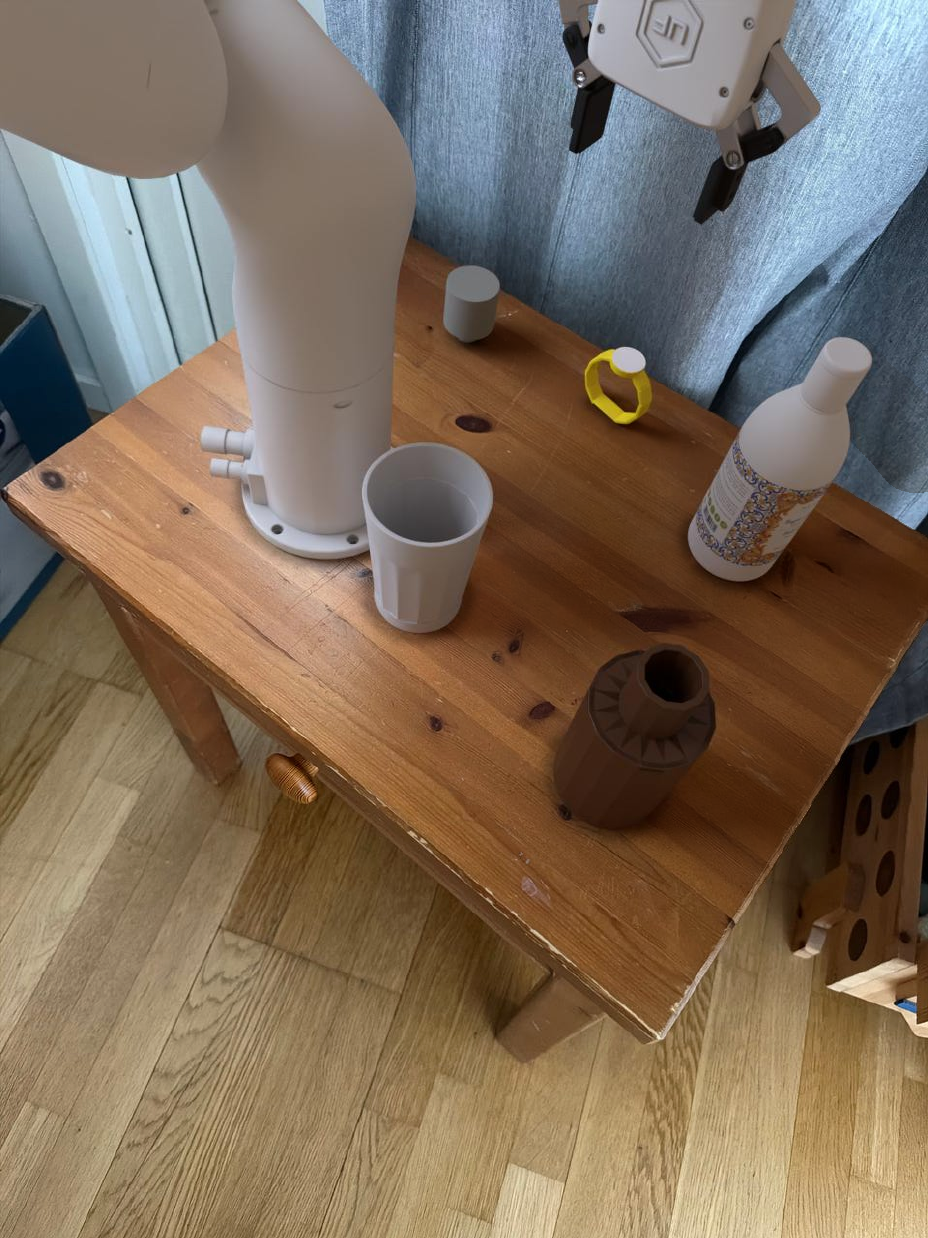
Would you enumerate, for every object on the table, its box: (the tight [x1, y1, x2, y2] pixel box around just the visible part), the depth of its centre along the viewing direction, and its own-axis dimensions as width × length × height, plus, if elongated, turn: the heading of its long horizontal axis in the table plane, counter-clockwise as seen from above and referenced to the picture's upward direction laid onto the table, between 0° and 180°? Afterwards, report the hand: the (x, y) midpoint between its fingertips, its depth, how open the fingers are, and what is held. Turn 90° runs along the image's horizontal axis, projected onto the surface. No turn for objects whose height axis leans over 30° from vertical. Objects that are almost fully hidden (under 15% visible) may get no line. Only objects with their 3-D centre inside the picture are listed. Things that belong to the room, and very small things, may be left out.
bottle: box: [552, 642, 717, 830], centre depth 53 cm, size 7×7×15 cm
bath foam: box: [687, 336, 873, 582], centre depth 61 cm, size 7×7×20 cm
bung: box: [442, 264, 501, 344], centre depth 76 cm, size 4×4×6 cm
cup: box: [362, 441, 494, 634], centre depth 60 cm, size 8×8×12 cm
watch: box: [584, 346, 653, 425], centre depth 73 cm, size 6×3×6 cm, turn 44°
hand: (645, 178), depth 58 cm, fingers open, 9 cm apart
